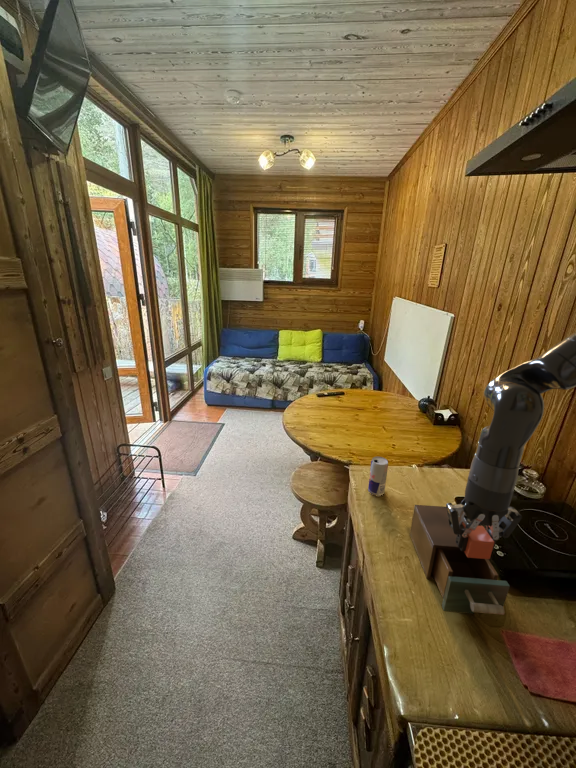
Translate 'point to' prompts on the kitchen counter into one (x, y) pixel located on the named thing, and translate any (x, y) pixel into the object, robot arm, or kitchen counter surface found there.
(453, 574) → the drawer
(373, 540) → the kitchen counter surface
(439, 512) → the cabinet
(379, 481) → the energy drink
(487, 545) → the block
